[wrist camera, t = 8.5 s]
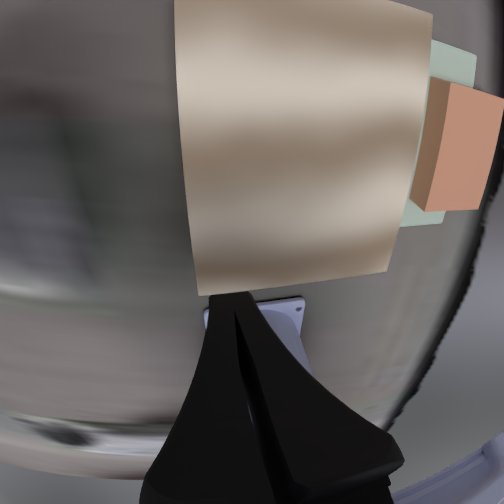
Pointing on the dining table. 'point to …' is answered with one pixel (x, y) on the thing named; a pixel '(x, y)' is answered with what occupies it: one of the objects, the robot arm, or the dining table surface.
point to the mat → (441, 66)
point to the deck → (297, 135)
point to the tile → (455, 147)
